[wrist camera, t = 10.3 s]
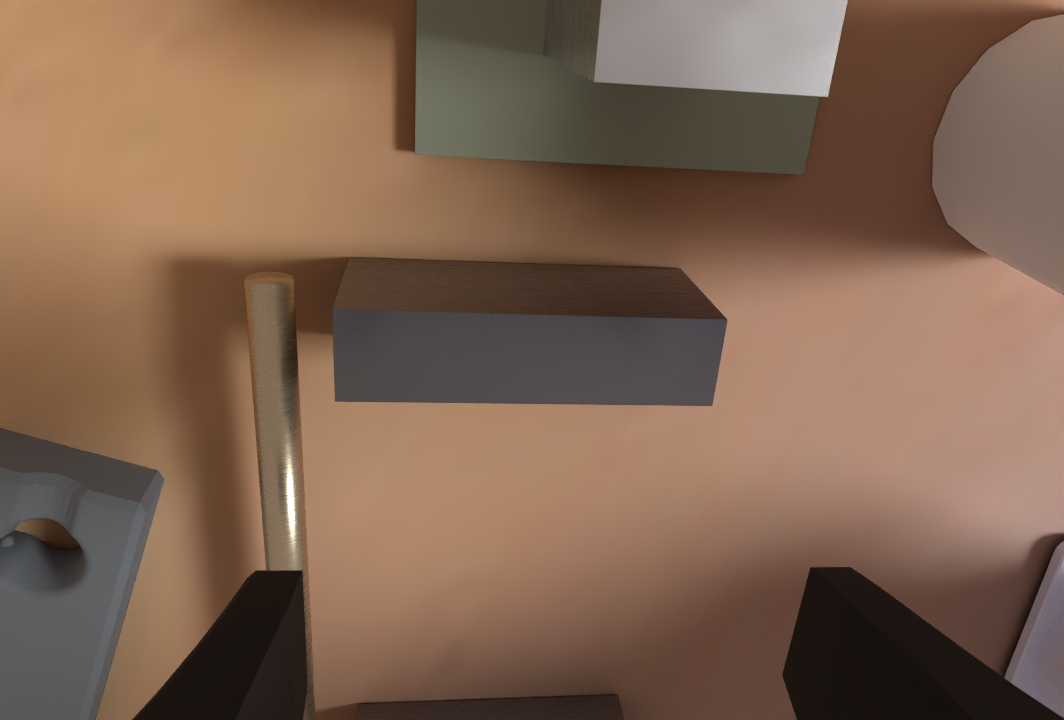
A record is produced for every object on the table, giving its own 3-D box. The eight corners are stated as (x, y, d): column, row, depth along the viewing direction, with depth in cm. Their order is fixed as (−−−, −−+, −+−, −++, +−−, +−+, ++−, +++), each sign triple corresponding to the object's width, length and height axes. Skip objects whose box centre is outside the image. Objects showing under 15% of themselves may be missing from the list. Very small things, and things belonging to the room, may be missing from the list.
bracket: (-63, 732, 24) (-107, 797, 22) (-4, 415, 20) (-49, 461, 18) (88, 757, 25) (60, 821, 23) (172, 461, 21) (147, 508, 19)
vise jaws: (680, 268, 20) (727, 319, 17) (610, 740, 26) (634, 842, 23) (260, 254, 19) (225, 306, 15) (293, 754, 25) (273, 864, 22)
